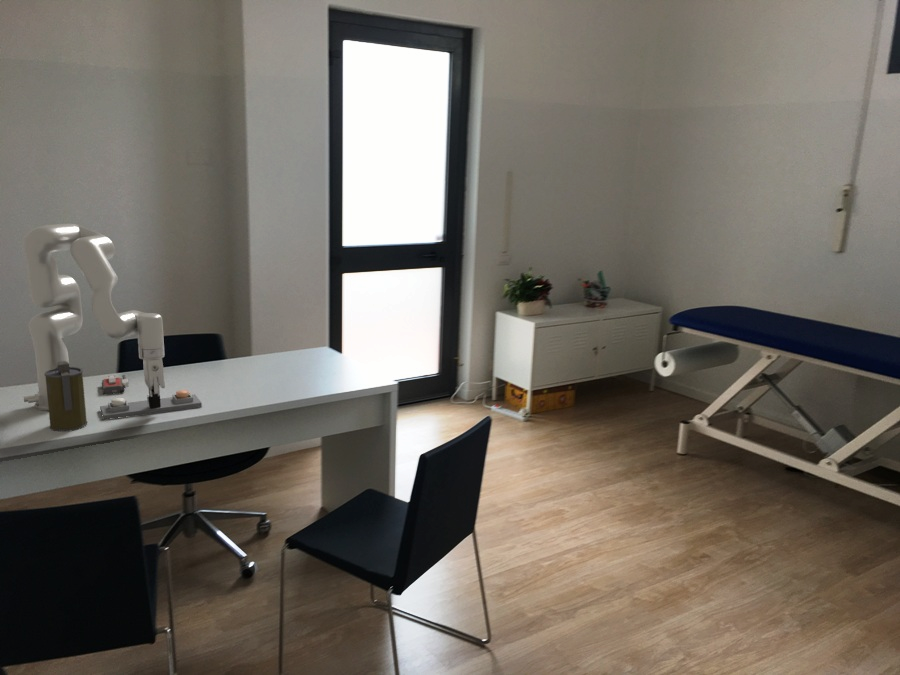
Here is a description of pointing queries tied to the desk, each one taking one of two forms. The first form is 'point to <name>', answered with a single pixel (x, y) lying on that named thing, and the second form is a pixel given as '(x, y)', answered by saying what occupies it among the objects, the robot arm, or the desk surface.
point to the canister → (66, 397)
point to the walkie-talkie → (114, 385)
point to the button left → (118, 402)
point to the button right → (182, 394)
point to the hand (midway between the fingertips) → (155, 407)
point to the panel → (143, 408)
